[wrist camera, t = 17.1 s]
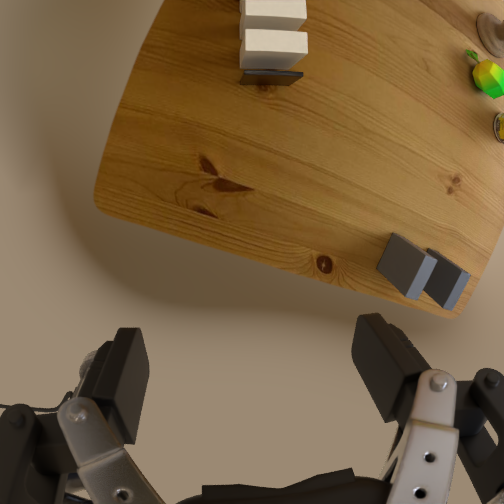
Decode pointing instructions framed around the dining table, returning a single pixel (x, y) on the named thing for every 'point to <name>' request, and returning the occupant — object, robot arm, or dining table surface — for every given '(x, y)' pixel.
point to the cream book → (272, 49)
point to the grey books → (422, 272)
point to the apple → (488, 76)
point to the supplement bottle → (499, 127)
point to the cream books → (271, 18)
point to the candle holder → (491, 33)
